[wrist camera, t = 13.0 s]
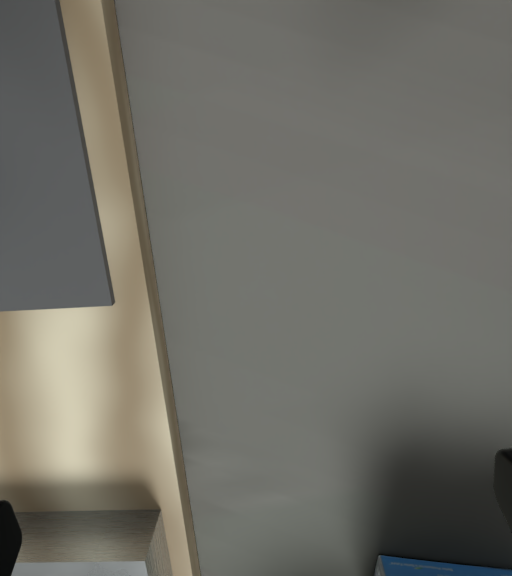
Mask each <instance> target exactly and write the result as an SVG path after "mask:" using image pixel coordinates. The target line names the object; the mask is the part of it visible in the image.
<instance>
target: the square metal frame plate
mask: <svg viewBox="0 0 512 576" xmlns="http://www.w3.org/2000/svg"><path fill="white" fill-rule="evenodd" d="M15 515H16V518H17V520H18V523H19V525H20V528H21V531H22V545H21V549H20V551H19V554H18V557H17V560H16V563H15V566H14V569H13V572H12V575H11V576H173V573H172V567H171V561H170V556H169V550H168V545H167V539H166V533H165V528H164V522H163V517H162V511H161V509H148V510H98V511H48V512H15Z"/></svg>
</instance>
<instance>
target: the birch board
mask: <svg viewBox="0 0 512 576" xmlns="http://www.w3.org/2000/svg"><path fill="white" fill-rule="evenodd" d="M59 1H60V6H61V11H62V17H63V22H64V28H65V33H66V38H67V44H68V49H69V55H70V60H71V65H72V71H73V76H74V82H75V87H76V92H77V98H78V103H79V109H80V114H81V119H82V125H83V130H84V136H85V141H86V146H87V152H88V157H89V163H90V168H91V173H92V179H93V184H94V190H95V195H96V200H97V206H98V211H99V217H100V222H101V227H102V233H103V238H104V244H105V249H106V254H107V260H108V265H109V271H110V276H111V281H112V287H113V292H114V298H115V303H114V304H113V306H99V307H80V308H60V309H41V310H22V311H2V312H0V500H8V501H9V502H10V503H11V505H12V507H13V510H14V512H48V511H98V510H148V509H161V511H162V517H163V522H164V528H165V533H166V539H167V545H168V550H169V556H170V561H171V567H172V573H173V576H201V574H200V567H199V561H198V554H197V547H196V541H195V534H194V527H193V521H192V514H191V508H190V501H189V494H188V488H187V481H186V474H185V468H184V461H183V455H182V448H181V441H180V435H179V428H178V422H177V415H176V408H175V402H174V395H173V388H172V382H171V375H170V369H169V362H168V355H167V349H166V342H165V335H164V329H163V322H162V316H161V309H160V302H159V296H158V289H157V282H156V276H155V269H154V263H153V256H152V249H151V243H150V236H149V230H148V223H147V216H146V210H145V203H144V196H143V190H142V183H141V177H140V170H139V163H138V157H137V150H136V143H135V137H134V130H133V124H132V117H131V110H130V104H129V97H128V90H127V84H126V77H125V71H124V64H123V57H122V51H121V44H120V37H119V31H118V24H117V18H116V11H115V4H114V0H59Z"/></svg>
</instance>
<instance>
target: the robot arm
mask: <svg viewBox="0 0 512 576" xmlns="http://www.w3.org/2000/svg"><path fill="white" fill-rule="evenodd" d="M493 488H494V493H495V497H496V500H497V502H498V504H499V506H500V508H501V510H502V513H503V515H504V517H505V519H506V521H507V523H508V525H509V527H510V530H511V532H512V448H510V449H501V450H499V451H497V453H496V456H495V468H494V483H493ZM21 545H22V531H21V528H20V525H19V523H18V520H17V518H16V515H15V512H14V510H13V507H12V505H11V503H10V502H9V501H8V500H0V576H11V575H12V572H13V569H14V566H15V563H16V560H17V557H18V554H19V551H20V549H21Z"/></svg>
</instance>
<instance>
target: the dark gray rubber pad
mask: <svg viewBox="0 0 512 576" xmlns="http://www.w3.org/2000/svg"><path fill="white" fill-rule="evenodd" d="M114 303H115V298H114V292H113V287H112V281H111V276H110V271H109V265H108V260H107V254H106V249H105V244H104V238H103V233H102V227H101V222H100V217H99V211H98V206H97V200H96V195H95V190H94V184H93V179H92V173H91V168H90V163H89V157H88V152H87V146H86V141H85V136H84V130H83V125H82V119H81V114H80V109H79V103H78V98H77V92H76V87H75V82H74V76H73V71H72V65H71V60H70V55H69V49H68V44H67V38H66V33H65V28H64V22H63V17H62V11H61V6H60V1H59V0H0V312H2V311H22V310H41V309H60V308H80V307H99V306H113V304H114Z"/></svg>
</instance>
